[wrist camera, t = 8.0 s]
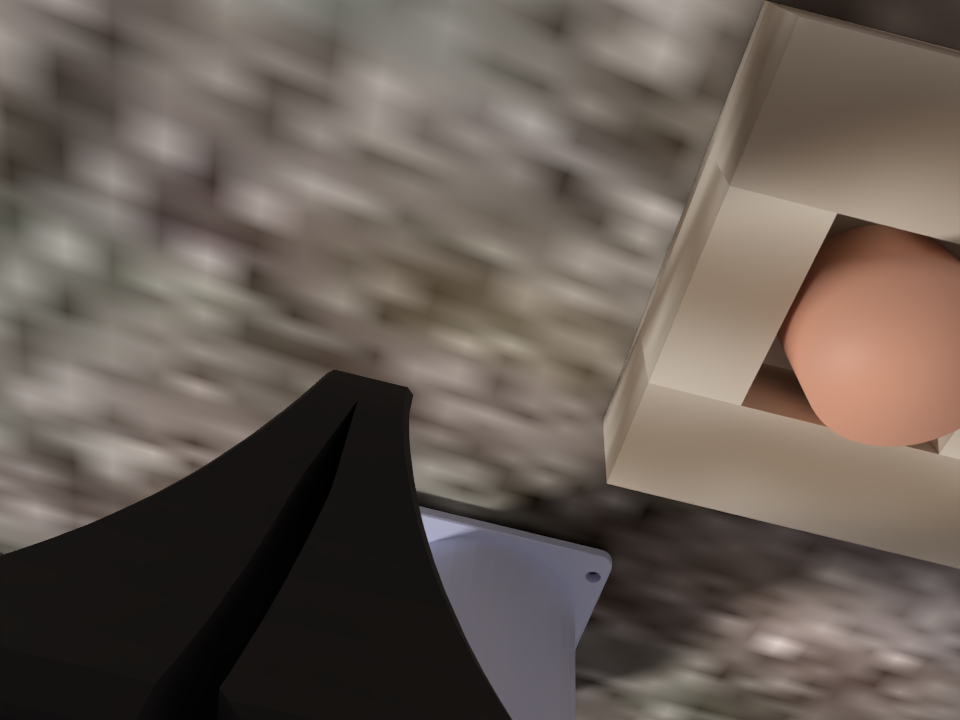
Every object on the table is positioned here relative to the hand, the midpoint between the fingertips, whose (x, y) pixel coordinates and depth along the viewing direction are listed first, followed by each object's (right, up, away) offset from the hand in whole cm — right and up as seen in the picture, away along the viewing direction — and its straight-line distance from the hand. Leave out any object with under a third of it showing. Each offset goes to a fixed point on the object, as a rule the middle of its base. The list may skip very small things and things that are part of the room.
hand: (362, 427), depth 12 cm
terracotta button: (+12, +2, +7) cm, 14 cm away
